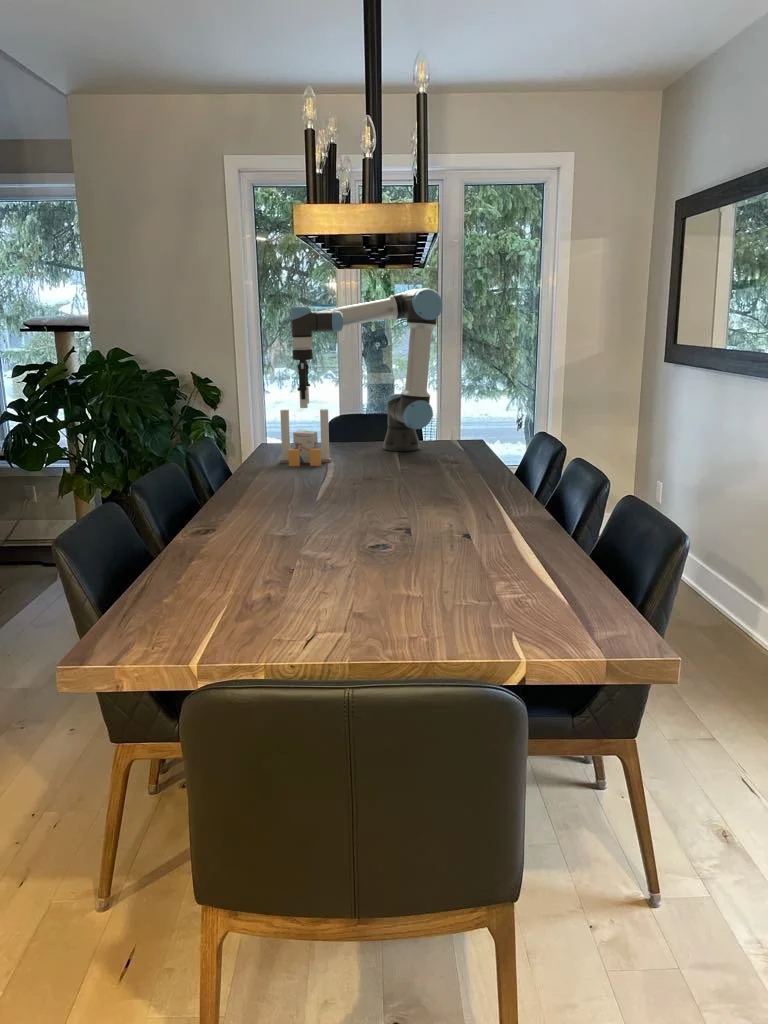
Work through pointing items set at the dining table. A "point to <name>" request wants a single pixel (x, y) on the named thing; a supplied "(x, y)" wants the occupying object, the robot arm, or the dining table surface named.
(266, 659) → the dining table surface
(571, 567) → the dining table surface
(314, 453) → the paddle
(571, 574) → the dining table surface
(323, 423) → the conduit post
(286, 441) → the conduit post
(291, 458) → the paddle
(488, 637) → the dining table surface
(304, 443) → the ink box
